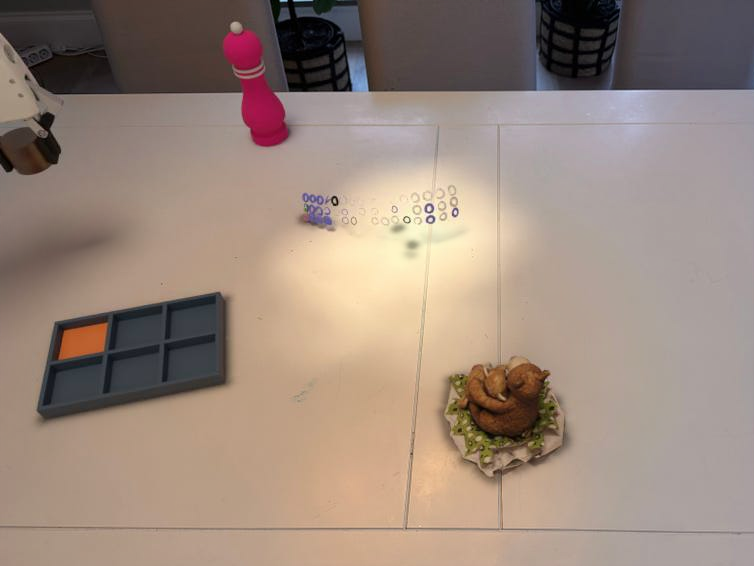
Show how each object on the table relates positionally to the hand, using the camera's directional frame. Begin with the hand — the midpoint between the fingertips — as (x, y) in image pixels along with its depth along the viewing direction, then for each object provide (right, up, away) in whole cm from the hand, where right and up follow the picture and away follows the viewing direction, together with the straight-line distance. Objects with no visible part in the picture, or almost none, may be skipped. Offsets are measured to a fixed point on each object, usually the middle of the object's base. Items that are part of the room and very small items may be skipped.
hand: (33, 161), depth 90 cm
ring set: (+44, -7, +12) cm, 47 cm away
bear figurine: (+63, -34, -9) cm, 72 cm away
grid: (+15, -26, -1) cm, 30 cm away
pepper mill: (+23, +13, +29) cm, 39 cm away
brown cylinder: (0, 0, 0) cm, 0 cm away
